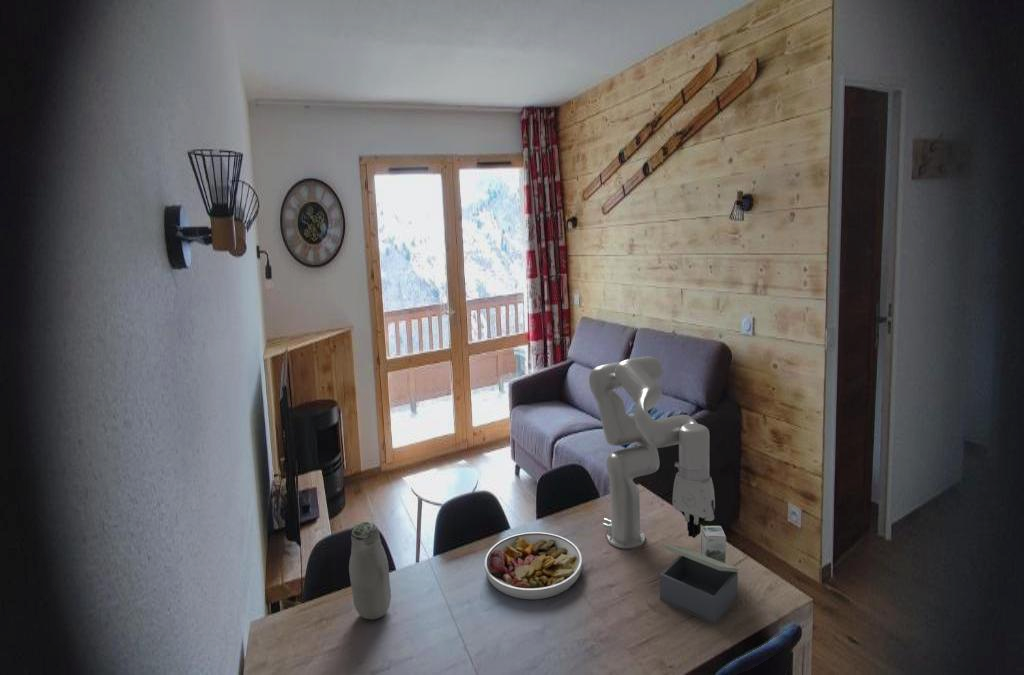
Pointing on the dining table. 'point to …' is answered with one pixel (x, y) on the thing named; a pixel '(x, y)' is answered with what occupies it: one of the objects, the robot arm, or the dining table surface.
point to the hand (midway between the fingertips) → (693, 534)
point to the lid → (701, 558)
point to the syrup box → (713, 542)
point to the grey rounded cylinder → (369, 572)
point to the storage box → (698, 589)
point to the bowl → (533, 565)
